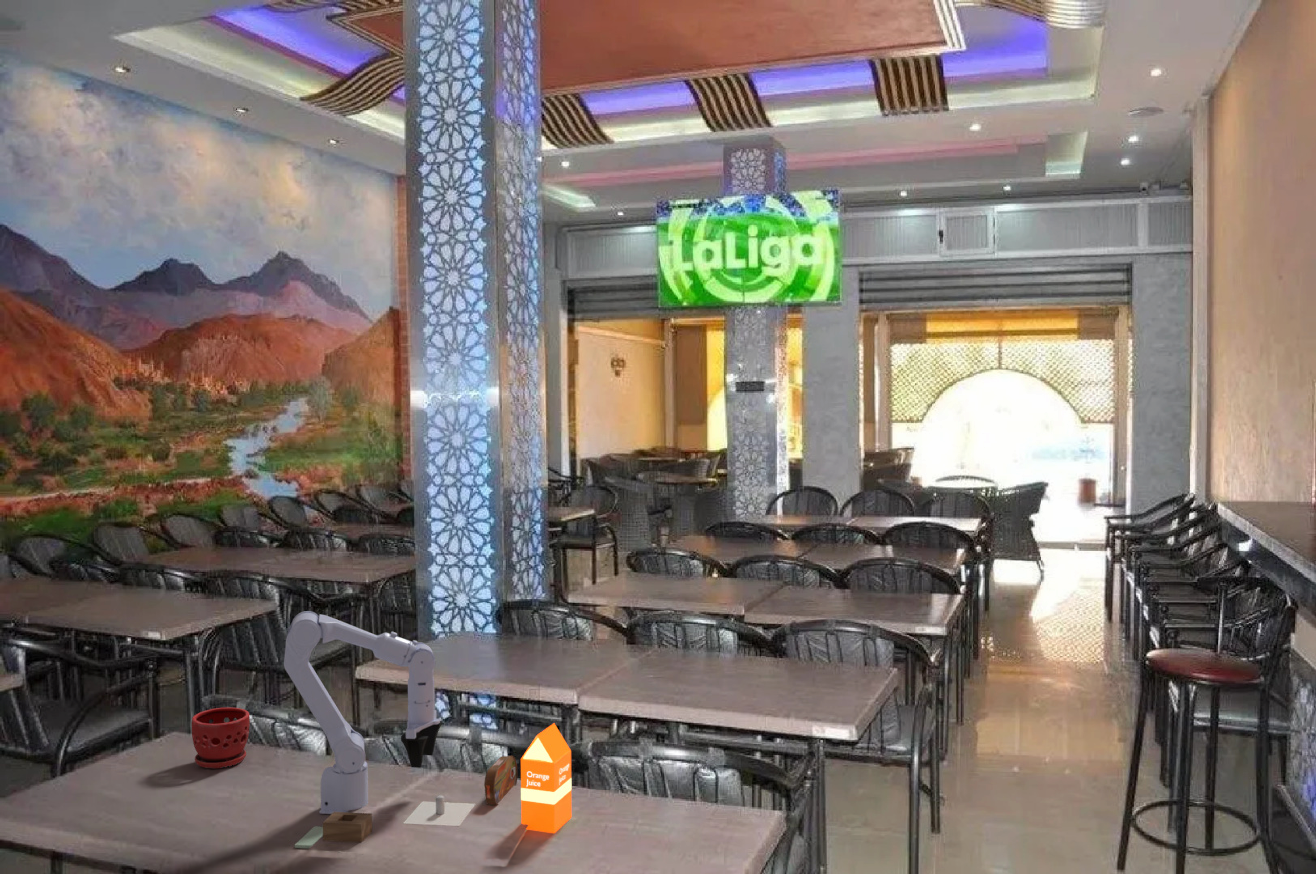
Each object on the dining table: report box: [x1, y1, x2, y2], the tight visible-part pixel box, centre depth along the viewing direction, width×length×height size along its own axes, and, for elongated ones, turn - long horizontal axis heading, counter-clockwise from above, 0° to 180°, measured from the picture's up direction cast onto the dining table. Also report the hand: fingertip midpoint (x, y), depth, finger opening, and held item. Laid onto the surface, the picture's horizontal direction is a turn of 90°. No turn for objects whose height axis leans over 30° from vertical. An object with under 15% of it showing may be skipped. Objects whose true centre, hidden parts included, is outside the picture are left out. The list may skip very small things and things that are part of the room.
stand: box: [402, 795, 476, 827], centre depth 225 cm, size 12×12×4 cm
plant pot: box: [191, 707, 251, 769], centre depth 259 cm, size 13×13×12 cm
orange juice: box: [520, 722, 573, 834], centre depth 222 cm, size 8×9×20 cm
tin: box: [483, 755, 518, 806], centre depth 236 cm, size 15×3×8 cm, turn 168°
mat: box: [294, 826, 323, 849], centre depth 214 cm, size 18×9×1 cm, turn 83°
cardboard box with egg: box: [322, 811, 373, 843], centre depth 214 cm, size 5×8×4 cm
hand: (422, 760), depth 235 cm, fingers open, 7 cm apart
